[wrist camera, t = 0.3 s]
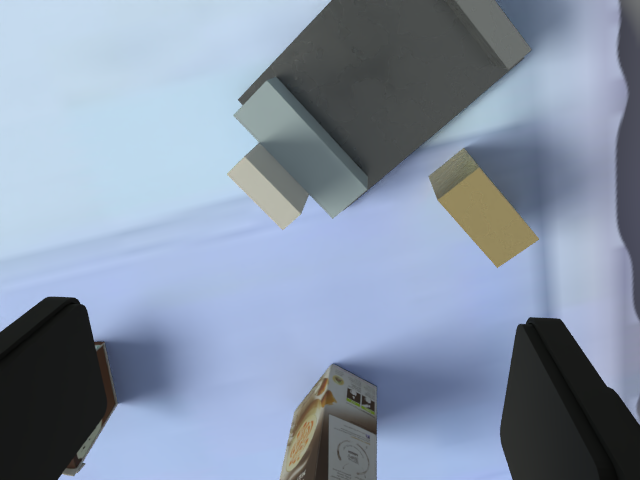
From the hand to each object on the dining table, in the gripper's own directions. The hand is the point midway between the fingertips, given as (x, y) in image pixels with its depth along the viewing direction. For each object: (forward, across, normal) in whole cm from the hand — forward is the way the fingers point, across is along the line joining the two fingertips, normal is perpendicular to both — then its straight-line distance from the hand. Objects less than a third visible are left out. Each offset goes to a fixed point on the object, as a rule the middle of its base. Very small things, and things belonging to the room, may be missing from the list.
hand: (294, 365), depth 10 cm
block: (+36, -11, +6) cm, 38 cm away
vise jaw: (+35, +5, +2) cm, 35 cm away
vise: (+36, -2, -4) cm, 36 cm away
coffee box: (+37, +2, +32) cm, 49 cm away
